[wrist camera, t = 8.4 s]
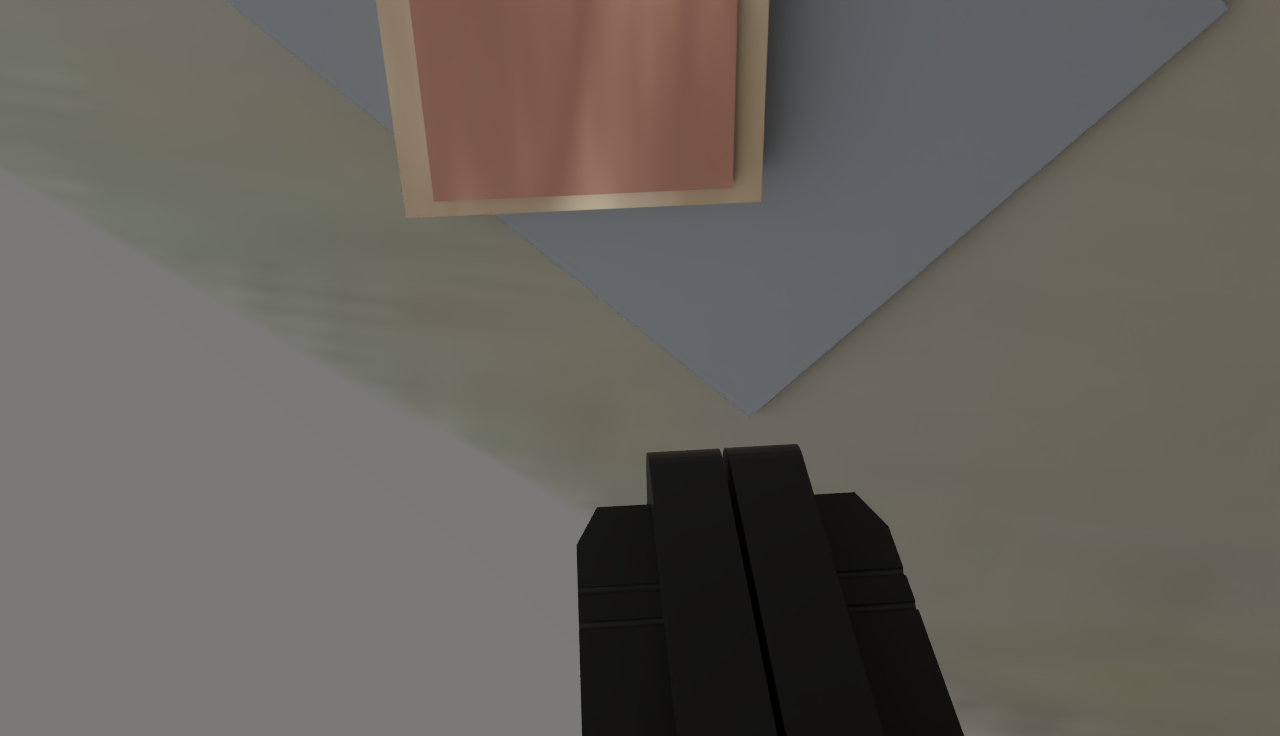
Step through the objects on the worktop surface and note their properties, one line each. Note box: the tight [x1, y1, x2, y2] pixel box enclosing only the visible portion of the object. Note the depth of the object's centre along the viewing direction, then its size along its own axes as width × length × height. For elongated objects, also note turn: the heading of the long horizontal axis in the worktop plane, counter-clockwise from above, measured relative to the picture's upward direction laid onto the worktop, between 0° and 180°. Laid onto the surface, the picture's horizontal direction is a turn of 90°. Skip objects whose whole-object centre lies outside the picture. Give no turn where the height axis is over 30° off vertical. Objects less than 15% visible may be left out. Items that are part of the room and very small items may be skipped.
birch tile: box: [376, 0, 769, 218], centre depth 25 cm, size 2×7×8 cm
